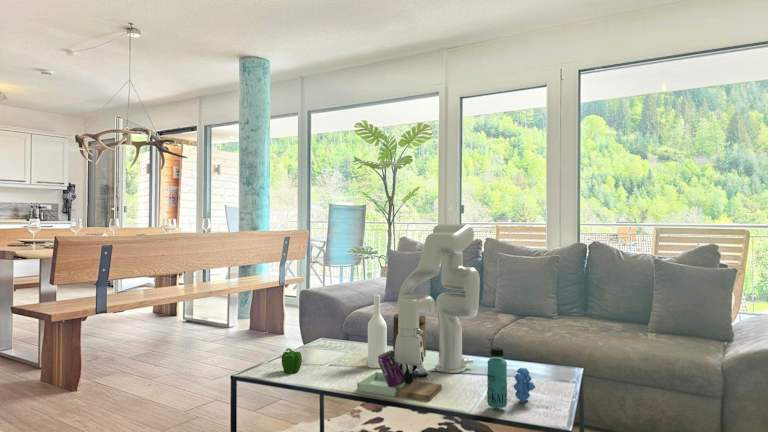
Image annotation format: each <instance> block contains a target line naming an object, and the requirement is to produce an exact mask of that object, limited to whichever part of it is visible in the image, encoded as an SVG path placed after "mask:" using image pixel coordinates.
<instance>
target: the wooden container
mask: <svg viewBox="0 0 768 432" xmlns="http://www.w3.org/2000/svg"><path fill="white" fill-rule="evenodd" d="M426 317H427V316H419V327H420V330H423V333H422V334H420V335H419V336H421V337H422V341H423V349H424V358H425V357H426V354H427V353H426V352H427V351H426V349H427V348H426V347H427V346H426V345H427V343H426V341H427V340H426V339H427V338H426V337H427V336H426V322H427V321H426ZM392 332H393V333H392V334H393V335H392V339H393V340H392V346H393V347H392V348H393V349H392V350H393V352H394V353H395V343H396V337H397V335H398V313H397V314H393V331H392Z"/></svg>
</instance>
